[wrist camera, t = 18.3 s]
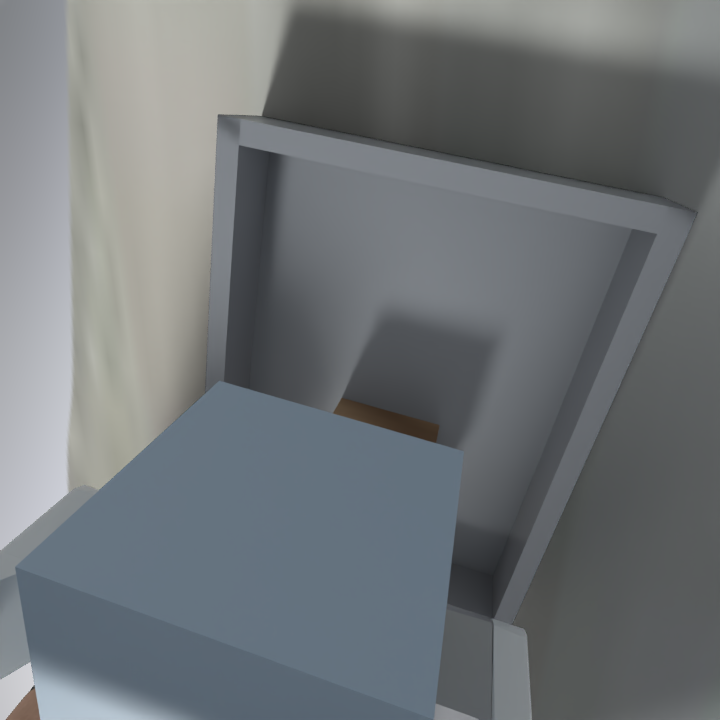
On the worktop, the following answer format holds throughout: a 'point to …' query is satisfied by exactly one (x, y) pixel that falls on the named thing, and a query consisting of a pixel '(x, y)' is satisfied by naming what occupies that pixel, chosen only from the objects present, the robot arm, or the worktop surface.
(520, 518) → the charcoal tray
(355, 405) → the walnut block
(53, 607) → the slate block
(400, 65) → the worktop surface
